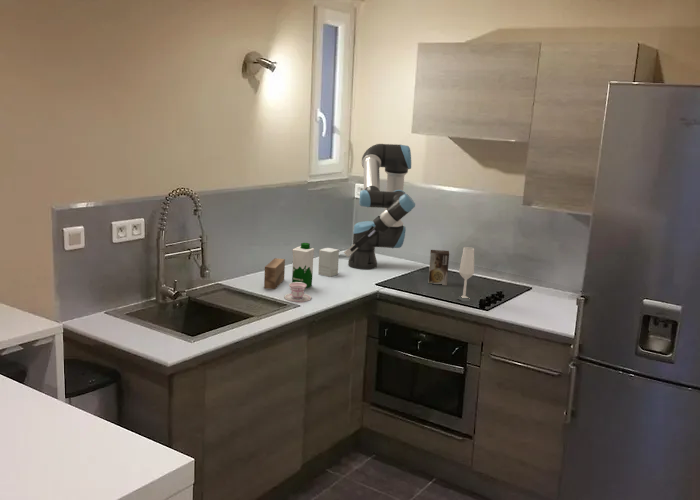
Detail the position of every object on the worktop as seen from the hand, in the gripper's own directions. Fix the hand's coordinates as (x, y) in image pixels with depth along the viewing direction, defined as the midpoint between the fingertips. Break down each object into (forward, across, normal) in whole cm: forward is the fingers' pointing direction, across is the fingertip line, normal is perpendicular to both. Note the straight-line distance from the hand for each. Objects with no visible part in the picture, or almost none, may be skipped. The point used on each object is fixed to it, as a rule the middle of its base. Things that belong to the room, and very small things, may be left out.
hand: (346, 254), depth 318 cm
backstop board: (+35, 0, +11) cm, 37 cm away
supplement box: (+21, +25, -3) cm, 33 cm away
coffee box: (-17, +29, -41) cm, 53 cm away
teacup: (+25, -18, 0) cm, 31 cm away
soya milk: (+26, 0, +2) cm, 26 cm away
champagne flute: (-26, +6, -51) cm, 57 cm away
